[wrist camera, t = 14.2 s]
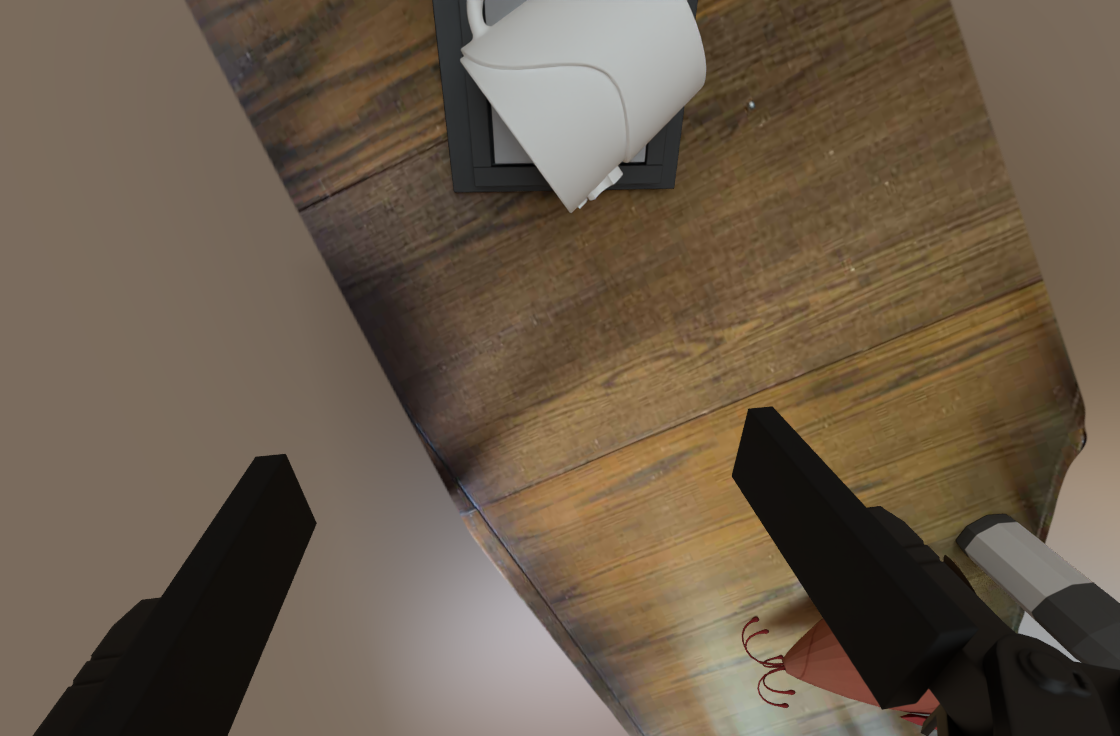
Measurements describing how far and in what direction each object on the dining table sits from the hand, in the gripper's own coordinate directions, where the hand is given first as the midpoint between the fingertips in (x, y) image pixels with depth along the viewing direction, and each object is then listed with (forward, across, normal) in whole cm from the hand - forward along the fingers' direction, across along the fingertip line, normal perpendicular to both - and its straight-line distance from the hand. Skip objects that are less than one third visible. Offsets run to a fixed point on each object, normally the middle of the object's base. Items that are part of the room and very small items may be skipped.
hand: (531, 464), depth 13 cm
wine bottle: (+25, +66, -46) cm, 84 cm away
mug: (+22, +4, +11) cm, 25 cm away
